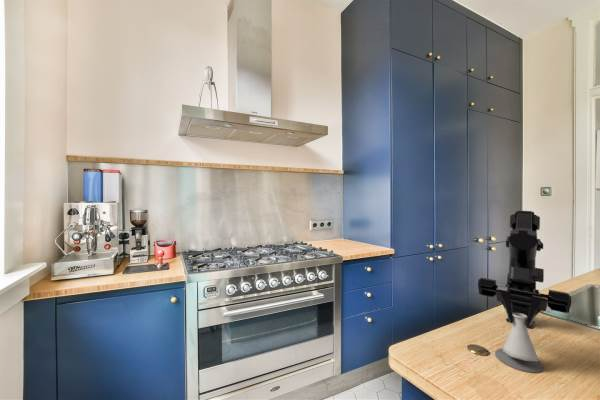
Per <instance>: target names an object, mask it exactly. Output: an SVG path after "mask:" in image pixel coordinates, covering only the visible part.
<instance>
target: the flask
mask: <svg viewBox="0 0 600 400" xmlns="http://www.w3.org/2000/svg"><path fill="white" fill-rule="evenodd" d="M512 316H513V323H511V324H512V325H511V328H510V331H509V333H508V335H507V337H506V339H505V341H504V343H503V346H502V349H503V351H504V352H505V353H507V354H508V355H510V356H511V357H514V358H518V359H521V360H525V361H539V358H538V354H537V352H536V349H535V347H534V345H533V343H532V339H531V338H530V334H529V332H528V327H526V319H527V315H524V314H521V313H513V312H512Z"/></svg>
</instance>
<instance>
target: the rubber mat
mask: <svg viewBox="0 0 600 400" xmlns="http://www.w3.org/2000/svg"><path fill="white" fill-rule="evenodd" d="M494 355H495V357H496V359H497V360H499V361H500V363H502V364H504V365H506V366H508V367H510V368H512V369H514V370H517V371H521V372H525V373H531V374H538V373H542V372H543V371H544V366H543V364H542V363H541V361H539V360H538V361H525V360H521V359H518V358H514V357H511V356H510V355H508V354H507V353H505V352H504V351H503V348H499V349H496V350H495V351H494Z"/></svg>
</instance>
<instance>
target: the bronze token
mask: <svg viewBox="0 0 600 400" xmlns="http://www.w3.org/2000/svg"><path fill="white" fill-rule="evenodd" d="M466 348H467V350H468V351H469V352H470V353H472V354H474V355H477V356H482V357H486V356H489V355H490V351H489V349H487V348H486V347H484V346H481V345H479V344H475V343H474V344H471V343H470V344H467V346H466Z"/></svg>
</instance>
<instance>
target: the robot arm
mask: <svg viewBox="0 0 600 400" xmlns="http://www.w3.org/2000/svg"><path fill="white" fill-rule="evenodd" d="M540 226H541V216H539V215H536V214H535V212H534V211H532V210H515V213H513V214H511V215H509V228H510V229H511V230H510V234H509V235H507V236H506V240H505V247H506V248H509V250H508V252H509V264H508V274H507V276H506V277H507V278H506V279H507V280H506V284H500V283H498V284H497V280H496V279H493V278H492V279H491V278H487V277H486V278H485V277H479V278H478V280H477V281H478V282H477V287H478V288H477V289H478V294H479V295H481V296H485V297H490V298H494V297H496V301H497V302H500V303H501V304H502V305H503V308H504V310H505V313H506V316H507V318H506V319H505V320H506V322H509V323H510V324H513V316H512V312H513V313H521V314H524V315H527V319H526V327H527V329H532V328H533V327H534V325H535V324H536V321H535V320H534V319H535V318H536V317H537V316H538V314H539V313H540V312H547V307H548V309H549V310H551V311H555V312H558V313H559V312H560V313H564V314H569V313H570V310H571V306H572V296H571V295H570V293H568V292H565V291H560V290H554V289H548V292H547V294H545V293H540V290H539V289H537V283H544V276H545V275H544V274H545V273H544V272H545V270H544V268H539V267H538V268H537V267H536V257H537V252H541V249H542V250H544V243H543V242H542V241H541V238H538V231H540V228H541V227H540Z"/></svg>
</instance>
